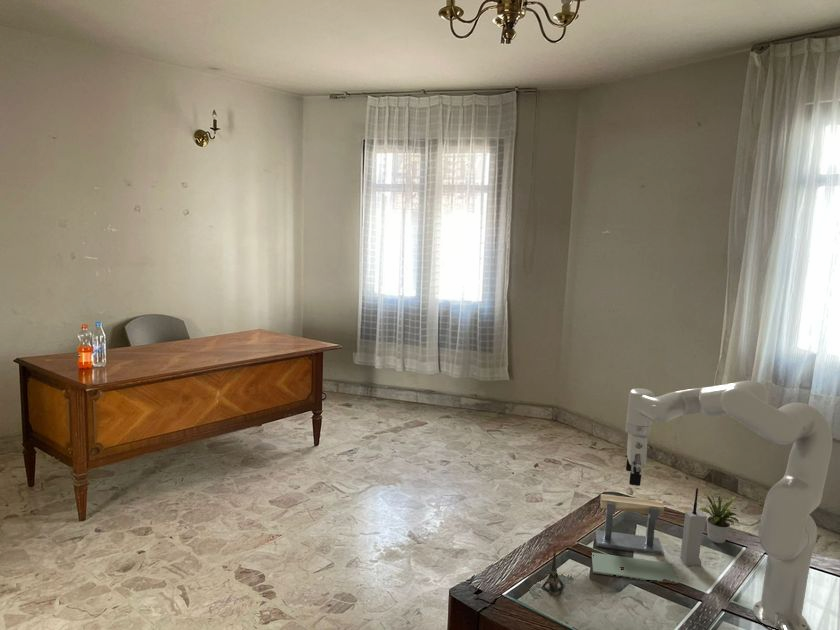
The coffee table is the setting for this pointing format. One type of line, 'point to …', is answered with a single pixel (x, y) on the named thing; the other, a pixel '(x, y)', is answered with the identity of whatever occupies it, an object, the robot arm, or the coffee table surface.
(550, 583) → the eiffel tower figurine
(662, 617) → the coffee table surface
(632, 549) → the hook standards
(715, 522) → the house plant
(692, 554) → the vintage mobile phone
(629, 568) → the rubber mat
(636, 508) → the maple rail
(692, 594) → the coffee table surface
